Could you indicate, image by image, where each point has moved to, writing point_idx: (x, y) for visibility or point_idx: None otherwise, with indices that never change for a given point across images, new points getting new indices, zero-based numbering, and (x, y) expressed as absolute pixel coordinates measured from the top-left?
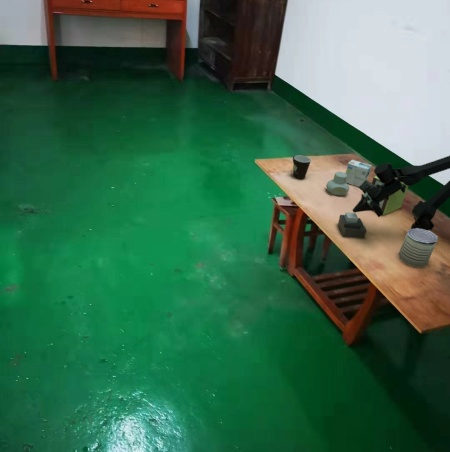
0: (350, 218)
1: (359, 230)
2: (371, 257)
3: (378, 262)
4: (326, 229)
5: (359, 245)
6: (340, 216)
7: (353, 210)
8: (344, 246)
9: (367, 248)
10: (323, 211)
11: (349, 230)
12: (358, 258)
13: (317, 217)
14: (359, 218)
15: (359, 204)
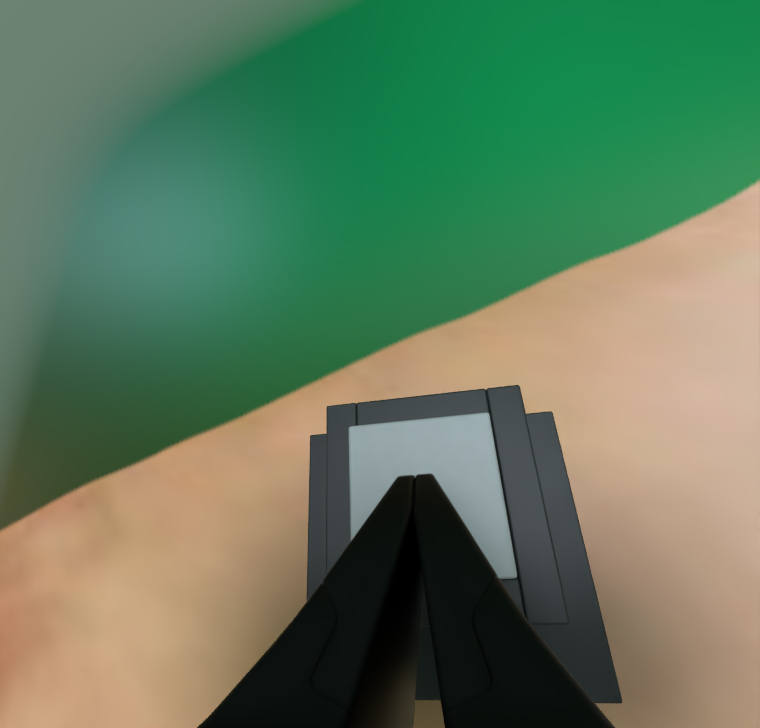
0: (350, 461)
1: (308, 594)
2: (79, 637)
3: (16, 684)
4: (422, 336)
5: (231, 572)
6: (491, 390)
7: (394, 482)
8: (219, 440)
9: (190, 642)
10: (743, 328)
11: (314, 479)
12: (86, 517)
13: (592, 280)
14: (606, 688)
15: (431, 616)
